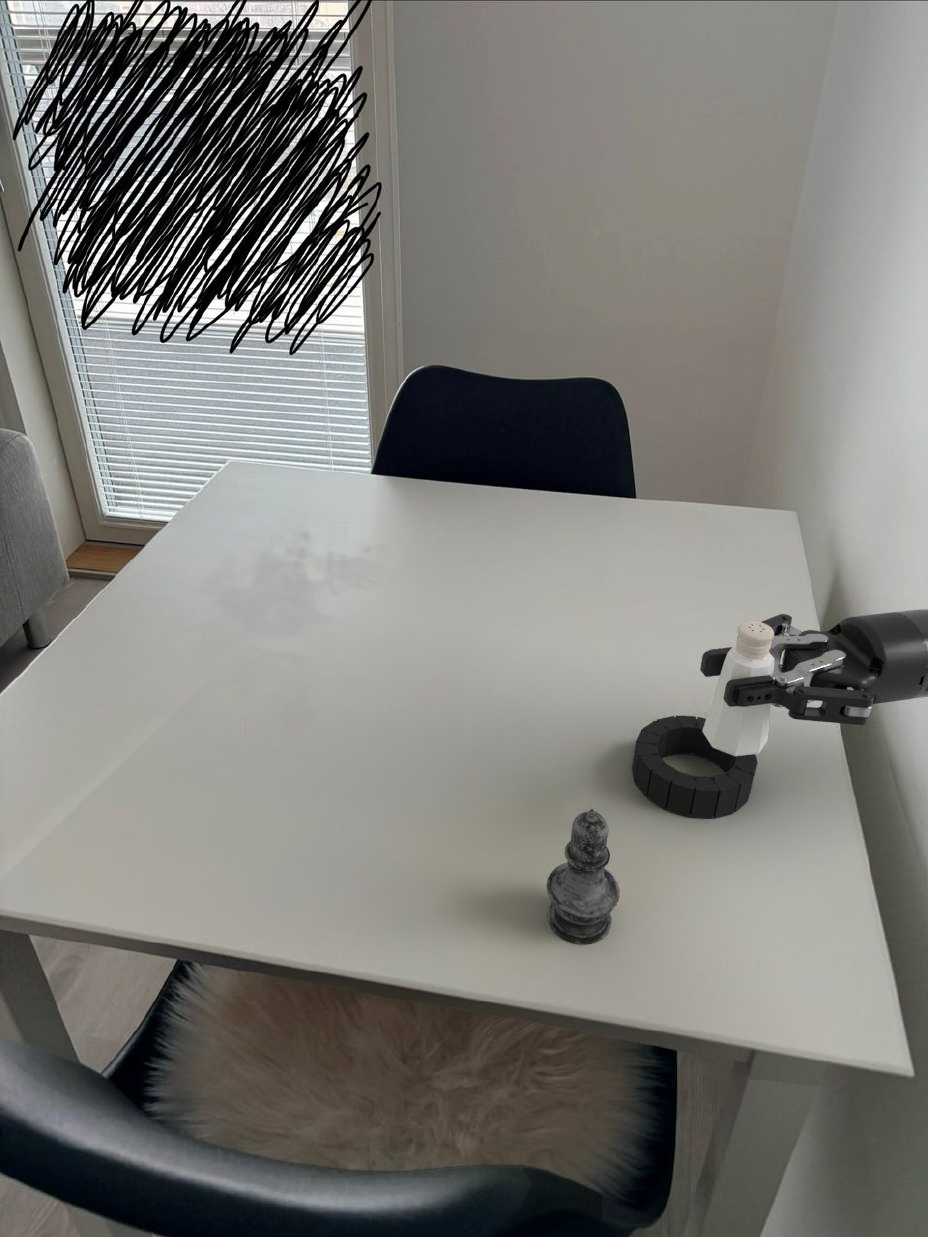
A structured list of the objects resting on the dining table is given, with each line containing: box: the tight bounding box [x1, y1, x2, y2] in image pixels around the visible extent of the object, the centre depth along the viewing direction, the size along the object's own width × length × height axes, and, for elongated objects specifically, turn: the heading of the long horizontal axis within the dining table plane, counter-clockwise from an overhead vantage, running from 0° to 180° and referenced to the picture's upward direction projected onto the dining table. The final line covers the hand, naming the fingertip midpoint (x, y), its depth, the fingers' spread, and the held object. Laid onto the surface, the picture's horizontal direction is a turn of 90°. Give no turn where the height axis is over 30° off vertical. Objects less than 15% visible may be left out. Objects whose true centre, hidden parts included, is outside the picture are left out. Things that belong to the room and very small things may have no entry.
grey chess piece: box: [546, 808, 621, 945], centre depth 69 cm, size 6×6×12 cm
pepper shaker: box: [702, 620, 774, 756], centre depth 73 cm, size 5×5×11 cm
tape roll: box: [631, 715, 758, 820], centre depth 87 cm, size 12×12×4 cm
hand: (715, 678), depth 71 cm, fingers closed on pepper shaker, 3 cm apart
